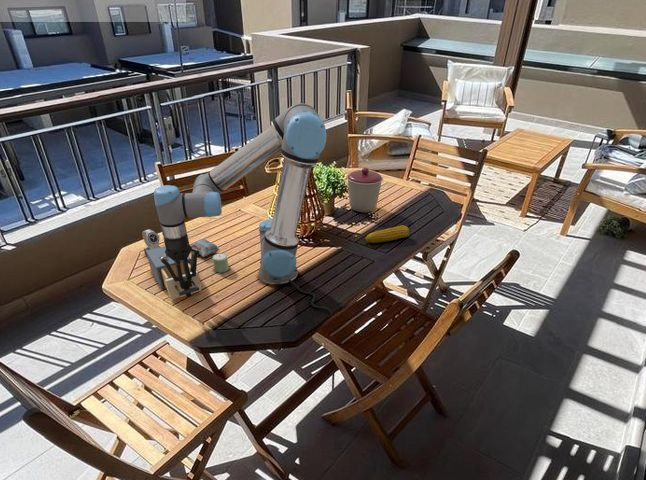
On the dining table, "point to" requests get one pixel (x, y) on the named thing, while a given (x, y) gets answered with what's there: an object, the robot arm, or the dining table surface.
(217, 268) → the votive
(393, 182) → the dining table surface
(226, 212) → the dining table surface
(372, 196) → the canister
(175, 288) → the drawer
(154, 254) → the cabinet
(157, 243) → the watch
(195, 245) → the packaged food
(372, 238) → the food
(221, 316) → the dining table surface
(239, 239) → the dining table surface
